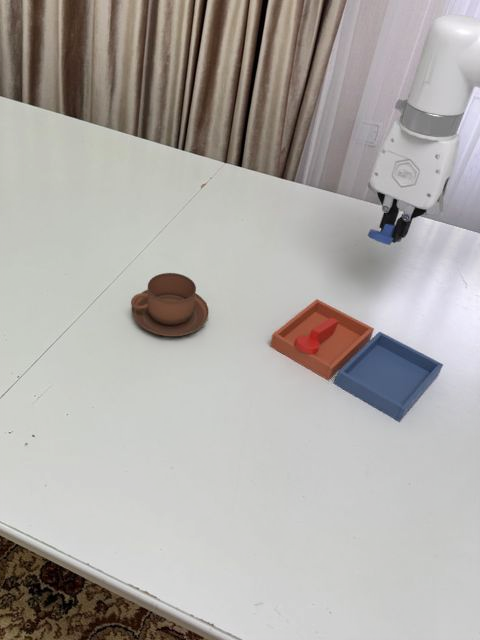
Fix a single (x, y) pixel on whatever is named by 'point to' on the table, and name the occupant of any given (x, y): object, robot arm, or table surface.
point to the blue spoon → (383, 234)
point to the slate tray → (388, 375)
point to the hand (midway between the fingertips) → (391, 236)
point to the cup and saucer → (170, 306)
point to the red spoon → (316, 336)
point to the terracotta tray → (332, 349)
